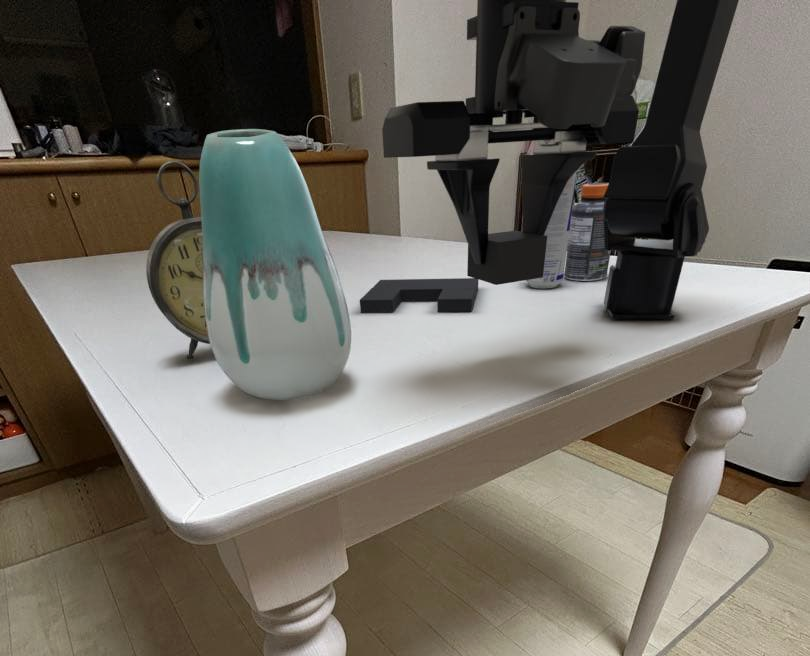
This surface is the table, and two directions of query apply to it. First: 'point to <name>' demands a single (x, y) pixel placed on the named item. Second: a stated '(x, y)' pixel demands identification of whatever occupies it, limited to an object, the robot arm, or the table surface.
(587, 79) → the robot arm
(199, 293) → the alarm clock
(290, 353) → the vase
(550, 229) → the beverage can
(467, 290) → the base pad
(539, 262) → the pad
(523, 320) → the table surface
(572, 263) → the pill bottle
